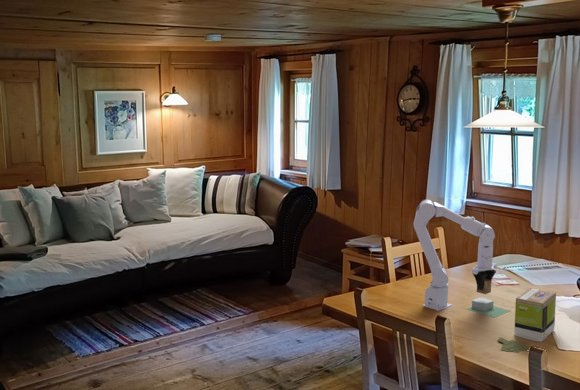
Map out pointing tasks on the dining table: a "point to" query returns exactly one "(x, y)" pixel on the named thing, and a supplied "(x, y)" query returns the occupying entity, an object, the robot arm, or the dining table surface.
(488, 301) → the base block
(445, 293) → the robot arm
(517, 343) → the green leaf
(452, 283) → the dining table surface
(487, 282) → the walnut cube
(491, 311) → the felt mat
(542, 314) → the tea box
